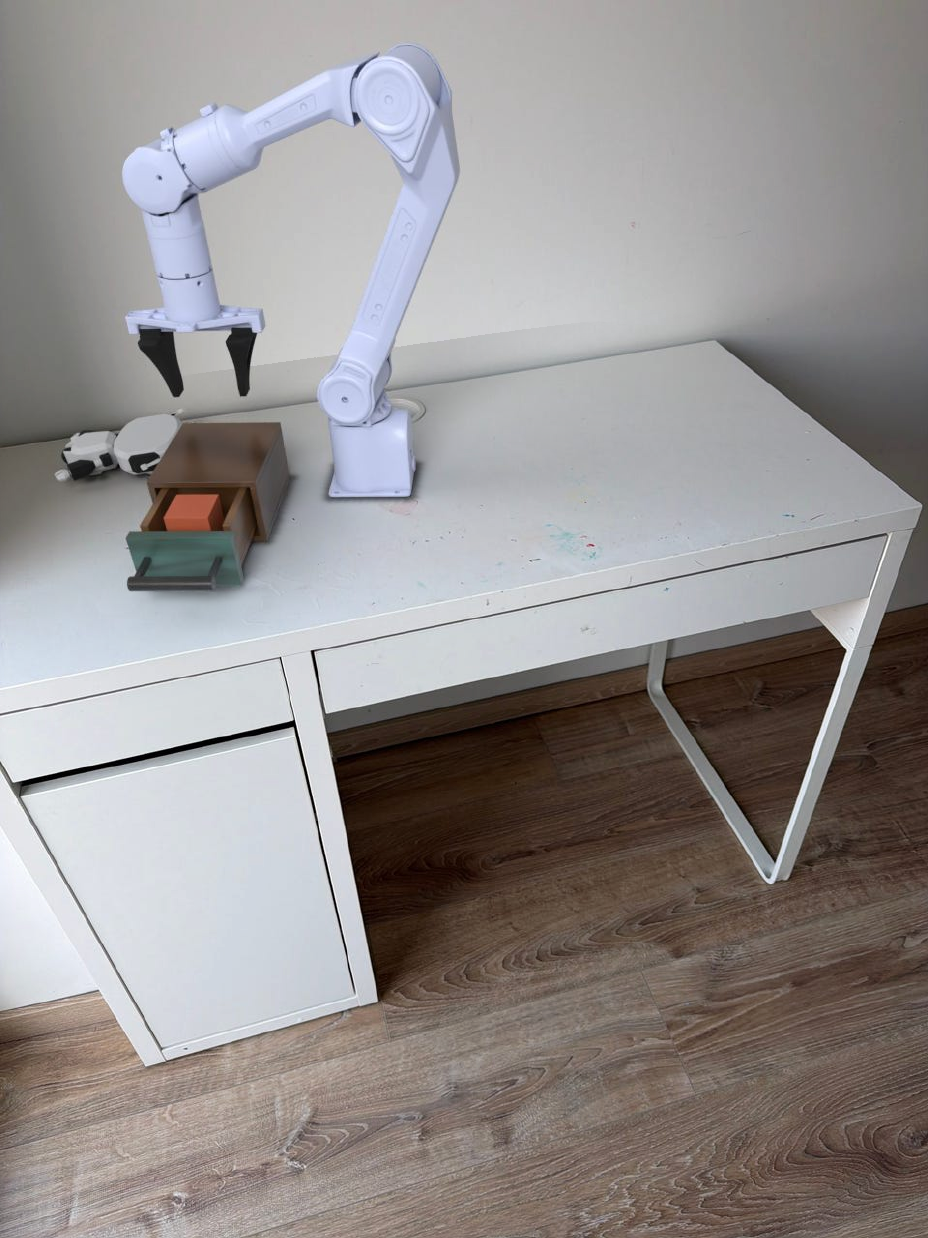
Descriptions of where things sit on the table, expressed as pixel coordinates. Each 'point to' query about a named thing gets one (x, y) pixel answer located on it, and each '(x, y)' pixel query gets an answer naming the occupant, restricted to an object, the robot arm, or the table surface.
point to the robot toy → (120, 447)
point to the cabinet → (228, 464)
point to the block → (195, 513)
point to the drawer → (192, 545)
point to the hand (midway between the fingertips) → (211, 393)
